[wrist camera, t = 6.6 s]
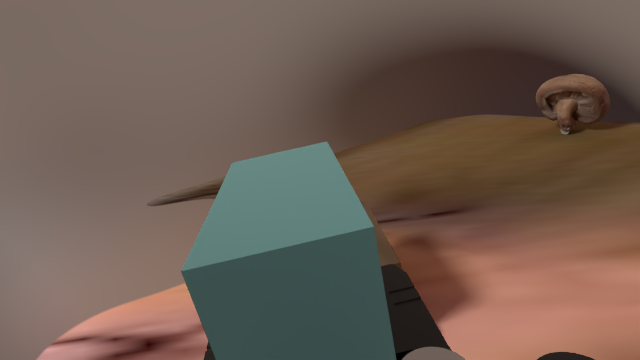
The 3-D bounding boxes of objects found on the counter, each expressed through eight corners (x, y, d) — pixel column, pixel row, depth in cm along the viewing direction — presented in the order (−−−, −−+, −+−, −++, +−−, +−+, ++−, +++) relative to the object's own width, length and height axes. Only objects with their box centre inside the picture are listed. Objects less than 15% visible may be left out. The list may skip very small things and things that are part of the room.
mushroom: (526, 135, 50) (525, 77, 48) (564, 124, 51) (565, 67, 48) (573, 146, 43) (575, 79, 41) (616, 133, 44) (621, 67, 41)
